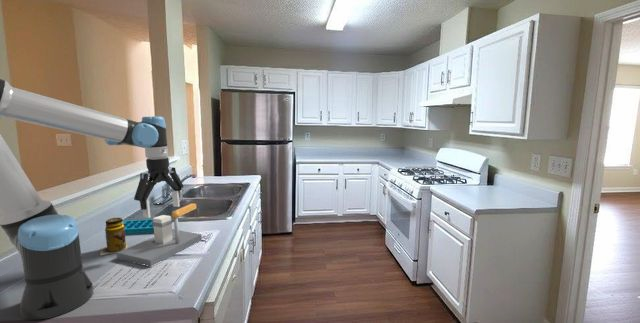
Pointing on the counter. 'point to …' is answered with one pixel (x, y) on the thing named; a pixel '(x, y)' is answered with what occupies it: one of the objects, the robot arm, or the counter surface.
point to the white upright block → (162, 229)
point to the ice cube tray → (138, 226)
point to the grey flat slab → (158, 249)
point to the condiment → (114, 236)
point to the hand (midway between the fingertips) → (162, 211)
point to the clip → (178, 213)
